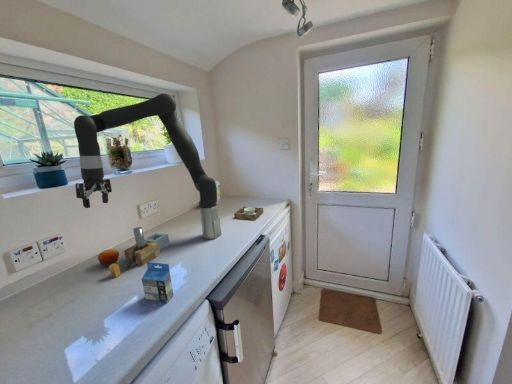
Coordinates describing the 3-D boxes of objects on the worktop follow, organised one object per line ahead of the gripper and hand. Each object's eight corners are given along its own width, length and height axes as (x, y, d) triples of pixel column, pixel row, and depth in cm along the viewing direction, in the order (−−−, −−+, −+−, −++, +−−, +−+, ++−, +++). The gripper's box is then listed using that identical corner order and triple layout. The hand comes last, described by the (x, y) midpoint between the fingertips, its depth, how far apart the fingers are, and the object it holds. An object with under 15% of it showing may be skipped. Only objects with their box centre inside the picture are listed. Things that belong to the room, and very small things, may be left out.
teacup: (250, 212, 162) (249, 205, 161) (260, 215, 155) (259, 208, 154) (239, 216, 156) (239, 209, 155) (249, 219, 149) (248, 212, 148)
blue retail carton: (144, 300, 78) (138, 268, 75) (152, 292, 82) (146, 261, 79) (167, 303, 76) (161, 270, 73) (174, 295, 80) (169, 263, 77)
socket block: (159, 254, 109) (157, 243, 107) (142, 265, 100) (140, 253, 98) (144, 251, 113) (142, 240, 111) (126, 262, 104) (123, 250, 102)
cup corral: (263, 212, 159) (263, 207, 158) (255, 220, 146) (255, 215, 145) (243, 211, 165) (243, 206, 164) (234, 218, 151) (234, 213, 150)
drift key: (133, 266, 99) (131, 257, 98) (116, 277, 92) (113, 267, 91) (128, 265, 100) (126, 256, 99) (111, 276, 93) (108, 265, 92)
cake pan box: (212, 208, 175) (210, 186, 171) (206, 208, 176) (204, 186, 172) (221, 201, 193) (219, 181, 189) (215, 201, 194) (213, 181, 190)
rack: (169, 243, 120) (168, 234, 118) (156, 252, 112) (154, 241, 110) (156, 241, 123) (154, 232, 122) (142, 249, 115) (140, 239, 114)
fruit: (97, 269, 96) (95, 251, 98) (101, 270, 103) (99, 253, 105) (119, 264, 100) (116, 246, 102) (121, 265, 107) (119, 248, 109)
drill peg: (149, 257, 107) (143, 227, 104) (143, 261, 104) (137, 230, 100) (143, 256, 109) (138, 226, 105) (137, 259, 105) (131, 229, 102)
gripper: (82, 168, 86) (88, 210, 89) (113, 165, 100) (117, 201, 103) (66, 168, 88) (73, 209, 91) (99, 165, 101) (104, 200, 104)
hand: (96, 205), depth 97 cm, fingers open, 8 cm apart
